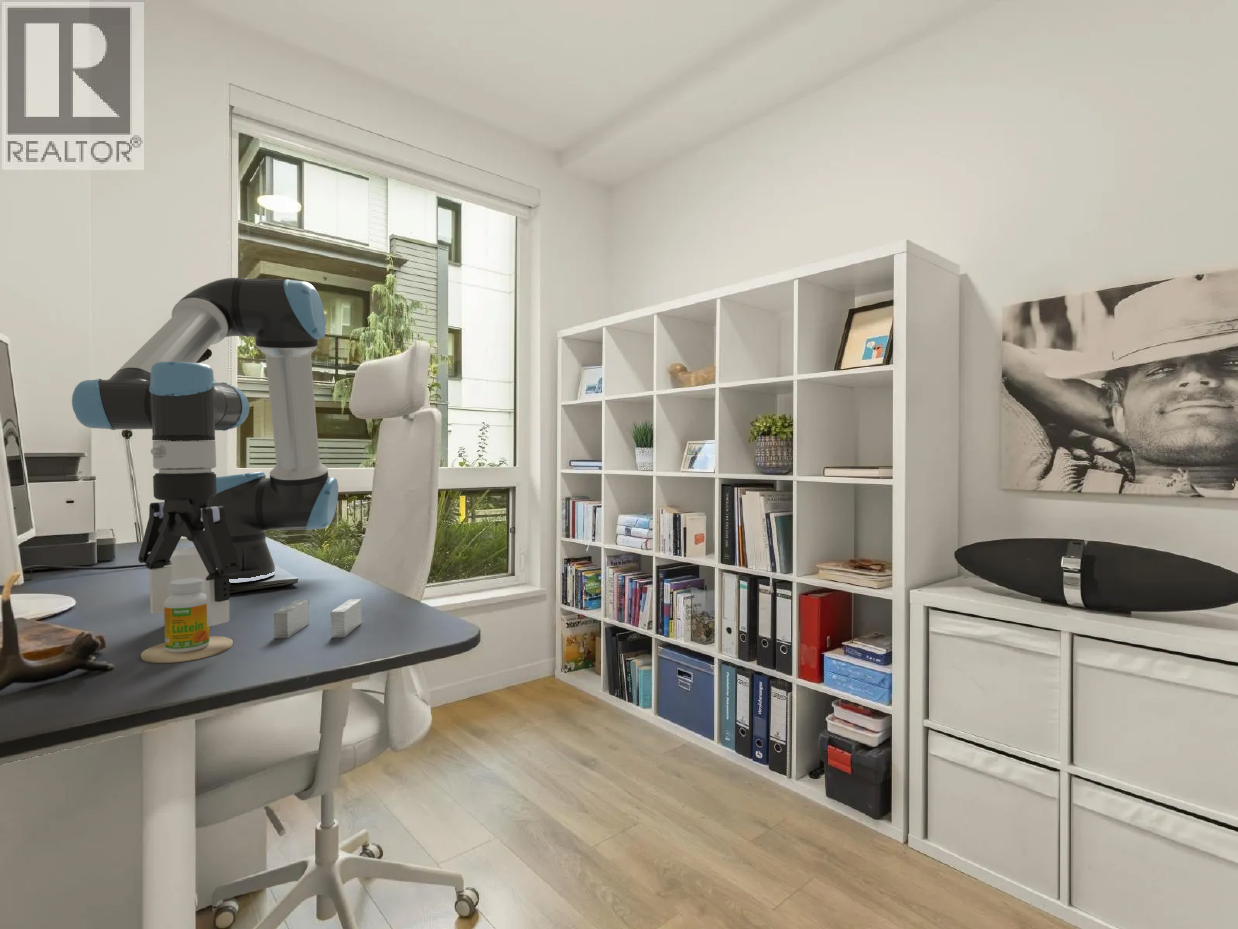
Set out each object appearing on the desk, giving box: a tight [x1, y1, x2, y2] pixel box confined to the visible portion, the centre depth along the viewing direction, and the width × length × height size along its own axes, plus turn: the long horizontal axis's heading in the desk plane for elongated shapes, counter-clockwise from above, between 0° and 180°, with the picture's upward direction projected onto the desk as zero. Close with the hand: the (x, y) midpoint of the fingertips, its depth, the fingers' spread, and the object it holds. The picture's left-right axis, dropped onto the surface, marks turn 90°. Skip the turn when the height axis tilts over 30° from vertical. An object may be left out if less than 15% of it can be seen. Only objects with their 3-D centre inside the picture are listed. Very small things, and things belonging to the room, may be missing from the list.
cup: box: [164, 546, 217, 594], centre depth 107 cm, size 9×9×12 cm
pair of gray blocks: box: [273, 598, 363, 640], centre depth 103 cm, size 8×10×4 cm
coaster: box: [140, 635, 234, 664], centre depth 93 cm, size 11×11×1 cm
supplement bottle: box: [163, 578, 211, 653], centre depth 93 cm, size 5×5×10 cm
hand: (189, 617), depth 93 cm, fingers open, 13 cm apart
